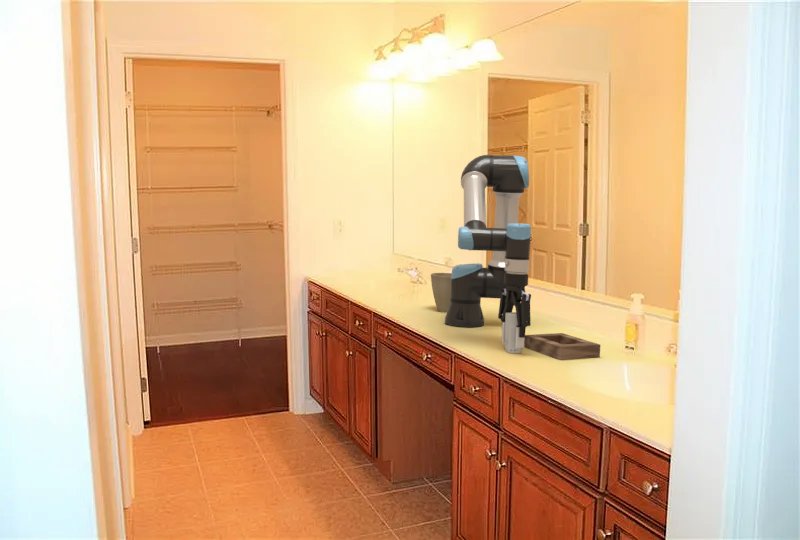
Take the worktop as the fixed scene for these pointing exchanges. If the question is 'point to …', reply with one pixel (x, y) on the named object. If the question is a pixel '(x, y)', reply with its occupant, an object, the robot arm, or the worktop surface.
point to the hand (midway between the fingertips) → (512, 344)
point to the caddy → (562, 346)
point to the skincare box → (511, 332)
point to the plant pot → (441, 290)
